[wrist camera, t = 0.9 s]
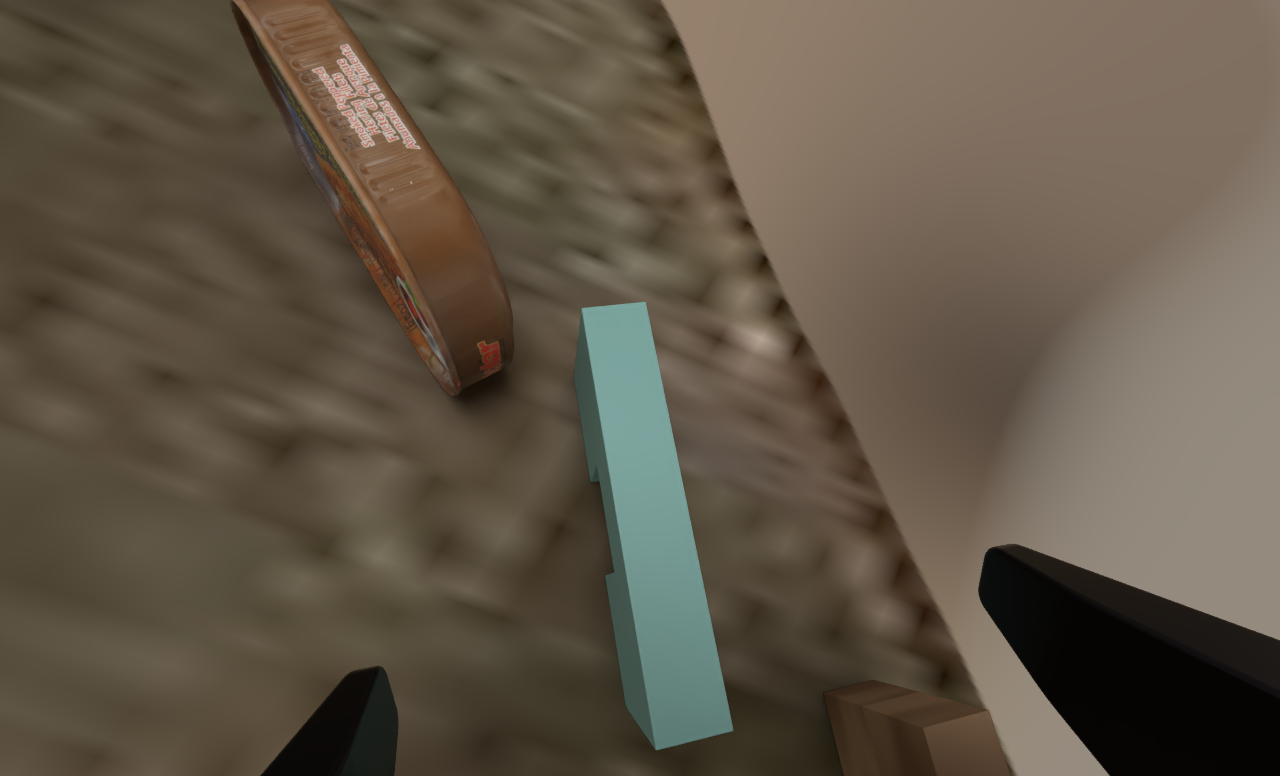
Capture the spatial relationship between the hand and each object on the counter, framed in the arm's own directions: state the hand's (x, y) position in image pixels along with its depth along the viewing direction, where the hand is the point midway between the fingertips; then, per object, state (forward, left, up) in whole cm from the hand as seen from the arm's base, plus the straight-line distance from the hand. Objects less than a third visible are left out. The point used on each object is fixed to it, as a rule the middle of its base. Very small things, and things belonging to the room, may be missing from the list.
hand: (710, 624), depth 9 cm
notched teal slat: (+3, -1, -13) cm, 14 cm away
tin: (+15, +6, -14) cm, 21 cm away
